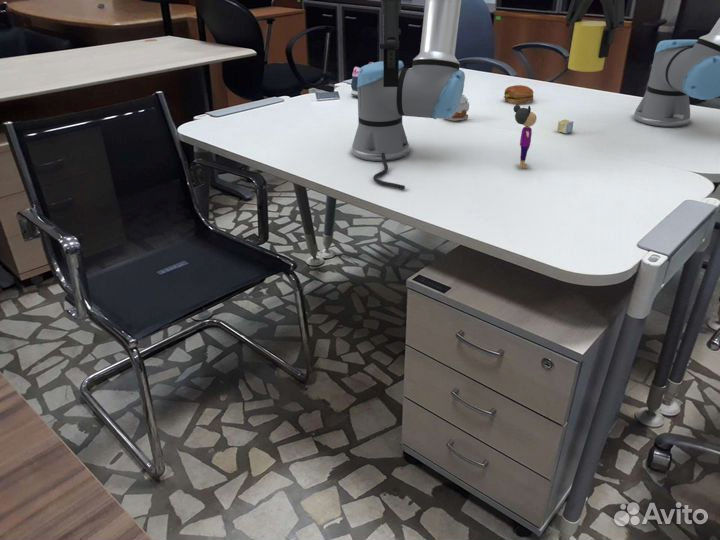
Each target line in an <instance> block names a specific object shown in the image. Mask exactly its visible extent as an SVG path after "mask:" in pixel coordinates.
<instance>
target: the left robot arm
mask: <svg viewBox="0 0 720 540" xmlns="http://www.w3.org/2000/svg"><path fill="white" fill-rule="evenodd" d="M380 2H381V3H380V4H381V6H380V7H381V15H383V17H384V18H383V19H384V20H383V23H384V24H383V43H379V50H382V51H383V58H382V59H383V60H382V61H376V62H373V63H371V64H369V63H368V64H365V65H363V66H361V67H359V68H360V69H359V71H358V84H357V90H358V97H357V112H358V113H357V115H358V118H357V119H358V125H357V128H356V131H355V135H354V138H353V141H352V144H351V147H352V155H353V156H354V157H356V158H358V159H360V160H364V161H371V162H382V164H383V169H382V170H381V171H379V172H377V173H376V174H374V175H373V178H372V179H373V181H374V182H375V183H377V184H379V185H380V186H385V187H389V188H394V189H399V190H405V189H406V185H404V184H400V183H396V182H395V183H394V182H389V181H384V180H381V179H379V177H381V176H383V175H385V174H387V172H388V169H389V165H388V163H387V162H389V161H394V160H398V159H399V160H400V159H401V158H404V157H406V156H407V155H409V151H410V150H409V149H410V145H409V141H408V137H407V134H406V132H405V128H404V125H403V124H404V123H403V117H411V118H413V117H414V118H425V119H433V120H437V119H440V120H441V119H445V120H448V118H451V117H452V116H454V114H455V113H456V111H457V109H458V107H459V104H460V101H461V97H462V95H463V92H464V89H465V80H466V73H465V71H463V70H462V69H460V67H461V63H460V62H459V60H458V59H457V57H456V49H457V48H456V47H457V39H458V30H459V24H460V23H459V22H460V14H461V6H462V0H425V2H424V3H425V4H424V11H423V21H422V31H421V38H420V40H421V41H420V49H419V53H418V55H416V56H415V57H414V58H413V59H412V67H405V64H404V62H403V61H402V60H400V48H399V47H400V40H399V39H400V38H399V35H401V33H402V32H401V31H402V30H401V28H399V27H400V26H399V24H400V23H399V20H400V19H399V16H400V14H402V0H380Z"/></svg>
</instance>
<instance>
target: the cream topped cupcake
mask: <svg viewBox="0 0 720 540" xmlns="http://www.w3.org/2000/svg"><path fill="white" fill-rule="evenodd" d="M469 109H470V102H469V99H468V98H467V96H465V94H462V97H461V101H460V104H459V107H458V109H457V111H456V113H455V114H454V116H452V117H451V118H448V119H447V120H449V121H456V122H458V121H463V120H466V119H469V114H468V112H469Z"/></svg>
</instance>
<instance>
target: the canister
mask: <svg viewBox="0 0 720 540" xmlns="http://www.w3.org/2000/svg"><path fill="white" fill-rule="evenodd" d="M605 29H606V22H605V21H600V20H582V21H580V22H576V23H575V25H574V31H573V38H572V44H571V50H570V52H569V57H568V64H567V69H569V70H571V71H576V72H583V73H584V72H585V73H591V72H592V73H594V72H601V71H603V70H604V66H605V61H606V57H604V58H598V57H599V52H600V46H601V41H602V36H603V30H605Z"/></svg>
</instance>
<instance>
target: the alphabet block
mask: <svg viewBox="0 0 720 540" xmlns="http://www.w3.org/2000/svg"><path fill="white" fill-rule="evenodd" d="M573 129H574V121H573V120H568V119H561V120H559V121H558V122H557V132H559V133H563V134H568V133H569V134H570V133H571V132H573Z"/></svg>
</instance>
